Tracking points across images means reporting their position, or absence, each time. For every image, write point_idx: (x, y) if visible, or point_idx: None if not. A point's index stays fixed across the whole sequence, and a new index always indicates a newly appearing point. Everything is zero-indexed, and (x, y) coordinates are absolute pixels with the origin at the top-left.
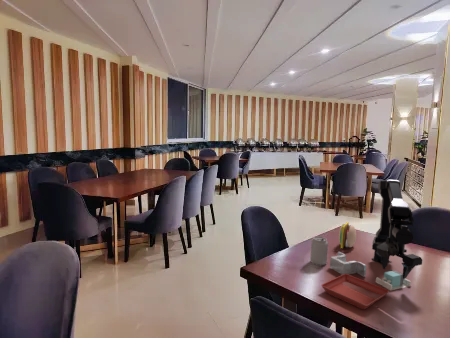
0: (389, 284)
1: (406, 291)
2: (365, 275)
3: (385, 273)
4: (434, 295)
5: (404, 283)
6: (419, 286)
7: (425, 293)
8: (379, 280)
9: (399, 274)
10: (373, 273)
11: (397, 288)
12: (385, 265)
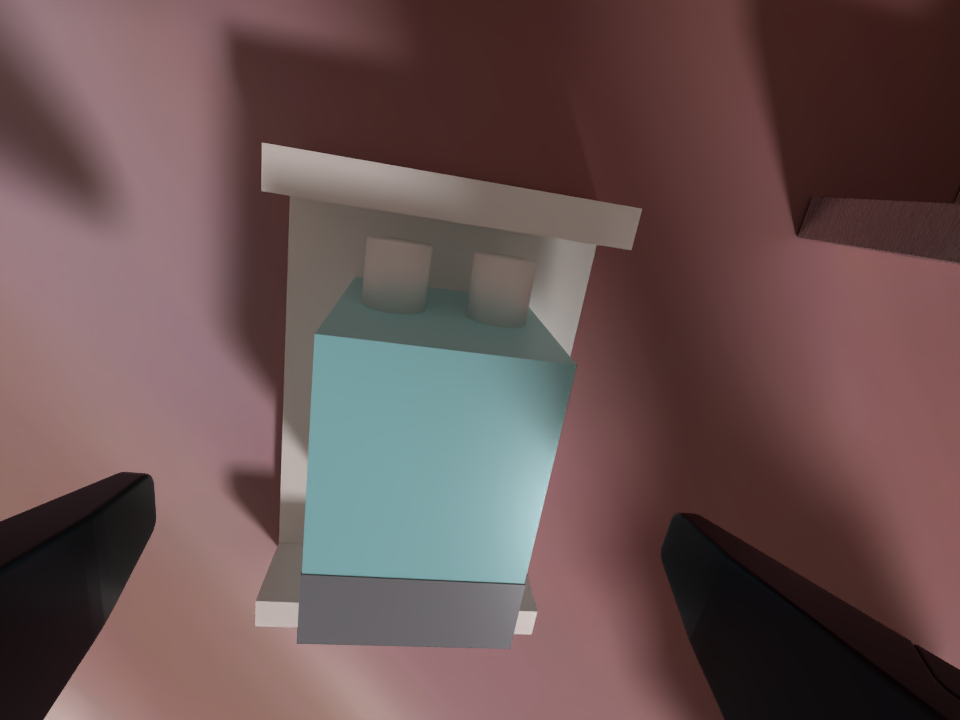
0: (305, 156)
1: (210, 401)
2: (826, 238)
3: (538, 357)
4: None
5: None
6: (259, 658)
7: None
8: (553, 195)
9: (336, 573)
10: (774, 468)
11: (293, 330)
12: (705, 609)
